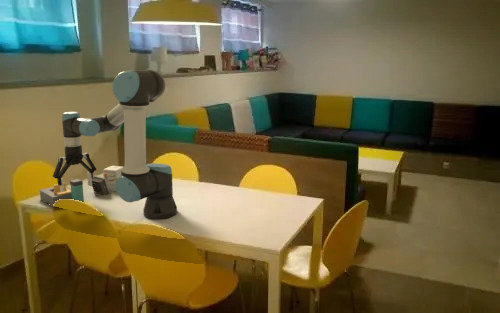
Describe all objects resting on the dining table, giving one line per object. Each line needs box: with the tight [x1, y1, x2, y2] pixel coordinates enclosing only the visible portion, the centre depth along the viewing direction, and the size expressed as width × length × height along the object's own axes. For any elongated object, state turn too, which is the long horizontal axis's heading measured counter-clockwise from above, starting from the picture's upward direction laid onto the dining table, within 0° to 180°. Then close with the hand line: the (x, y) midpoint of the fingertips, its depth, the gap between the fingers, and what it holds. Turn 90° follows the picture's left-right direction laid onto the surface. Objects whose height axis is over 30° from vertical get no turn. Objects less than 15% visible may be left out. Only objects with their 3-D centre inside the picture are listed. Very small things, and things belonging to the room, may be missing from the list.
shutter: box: [53, 182, 71, 196], centre depth 209 cm, size 6×6×4 cm
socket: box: [39, 185, 72, 207], centre depth 213 cm, size 16×12×5 cm
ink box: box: [102, 165, 124, 192], centre depth 232 cm, size 9×8×12 cm
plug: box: [69, 178, 85, 203], centre depth 207 cm, size 4×4×12 cm
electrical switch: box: [91, 175, 111, 196], centre depth 224 cm, size 9×5×9 cm, turn 57°
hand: (76, 188), depth 207 cm, fingers open, 13 cm apart
